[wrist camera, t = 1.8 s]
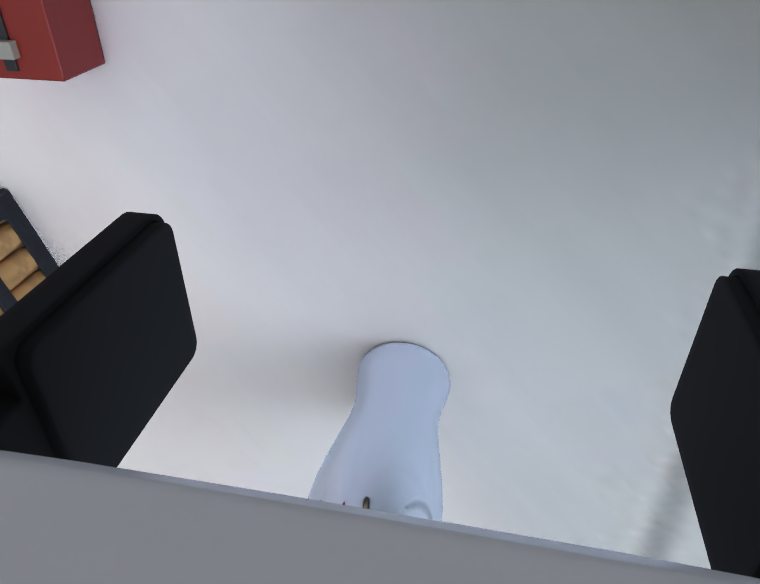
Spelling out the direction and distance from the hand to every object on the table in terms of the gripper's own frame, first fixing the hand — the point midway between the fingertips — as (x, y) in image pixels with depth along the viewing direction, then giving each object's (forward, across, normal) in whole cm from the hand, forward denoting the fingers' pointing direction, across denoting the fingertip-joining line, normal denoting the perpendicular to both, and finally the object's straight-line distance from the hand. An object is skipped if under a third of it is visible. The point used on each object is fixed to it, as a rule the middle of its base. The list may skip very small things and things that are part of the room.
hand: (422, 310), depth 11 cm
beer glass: (+21, +3, +21) cm, 30 cm away
